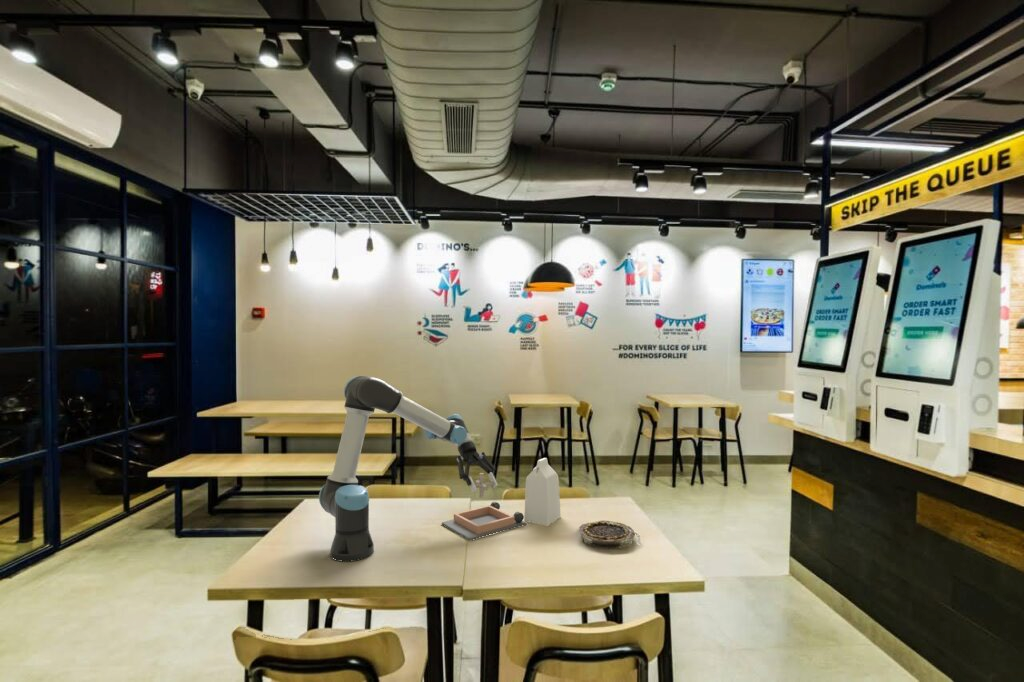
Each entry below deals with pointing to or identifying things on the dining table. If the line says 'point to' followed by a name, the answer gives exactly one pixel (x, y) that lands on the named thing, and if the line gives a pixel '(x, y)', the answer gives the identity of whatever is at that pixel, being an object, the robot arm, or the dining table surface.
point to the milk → (542, 495)
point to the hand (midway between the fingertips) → (485, 489)
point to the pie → (607, 534)
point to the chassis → (483, 521)
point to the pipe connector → (482, 485)
